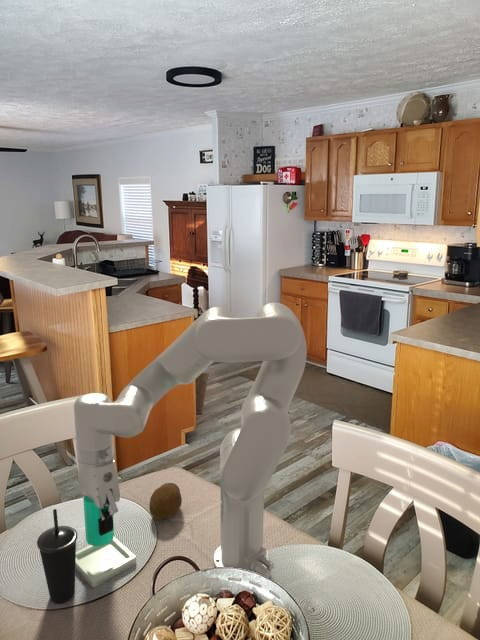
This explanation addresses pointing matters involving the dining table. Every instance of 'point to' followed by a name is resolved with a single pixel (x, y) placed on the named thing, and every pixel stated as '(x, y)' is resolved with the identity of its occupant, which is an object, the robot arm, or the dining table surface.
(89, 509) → the candle
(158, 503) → the potato
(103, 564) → the tray
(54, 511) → the drinking cup
